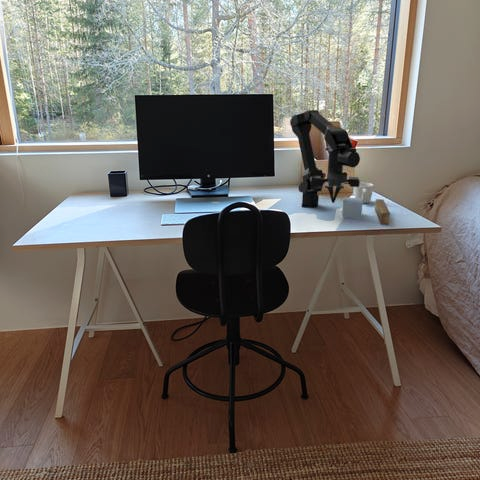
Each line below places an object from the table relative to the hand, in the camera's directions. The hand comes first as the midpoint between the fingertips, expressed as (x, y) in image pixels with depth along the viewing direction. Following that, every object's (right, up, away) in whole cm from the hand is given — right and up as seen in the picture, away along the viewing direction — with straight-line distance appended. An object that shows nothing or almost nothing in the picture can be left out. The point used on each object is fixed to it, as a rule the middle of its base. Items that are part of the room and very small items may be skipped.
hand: (333, 202), depth 170 cm
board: (+19, -6, -2) cm, 20 cm away
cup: (+17, +1, +18) cm, 25 cm away
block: (+7, -5, 0) cm, 9 cm away
